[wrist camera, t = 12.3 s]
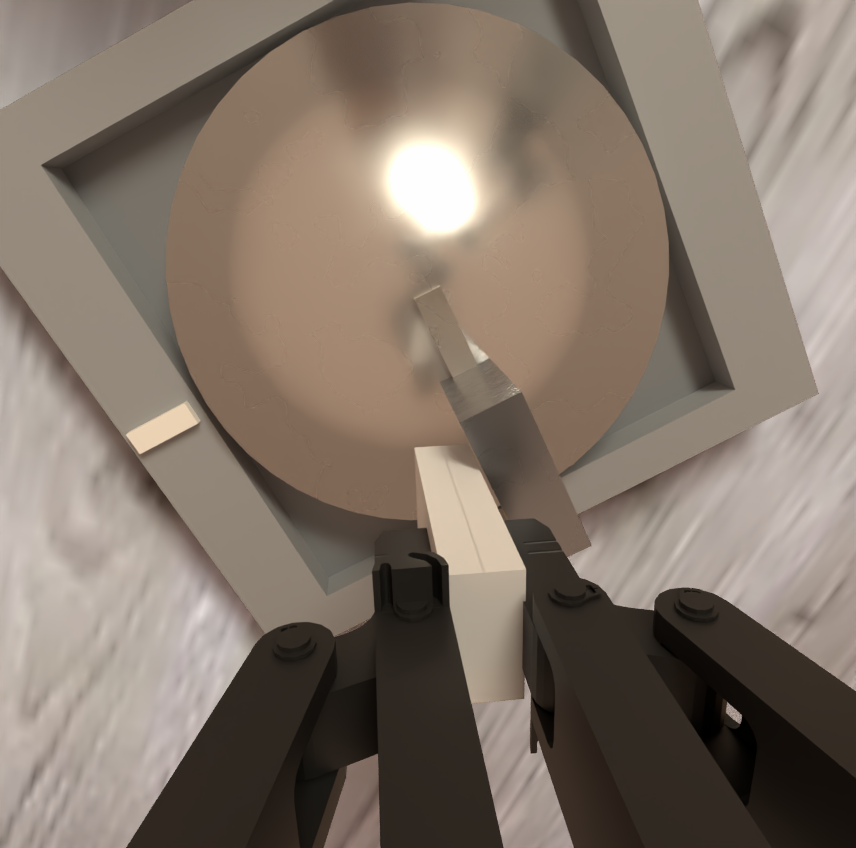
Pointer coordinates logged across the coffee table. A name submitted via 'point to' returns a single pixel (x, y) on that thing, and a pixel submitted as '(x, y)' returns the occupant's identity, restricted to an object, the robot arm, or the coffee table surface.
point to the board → (149, 305)
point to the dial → (418, 260)
